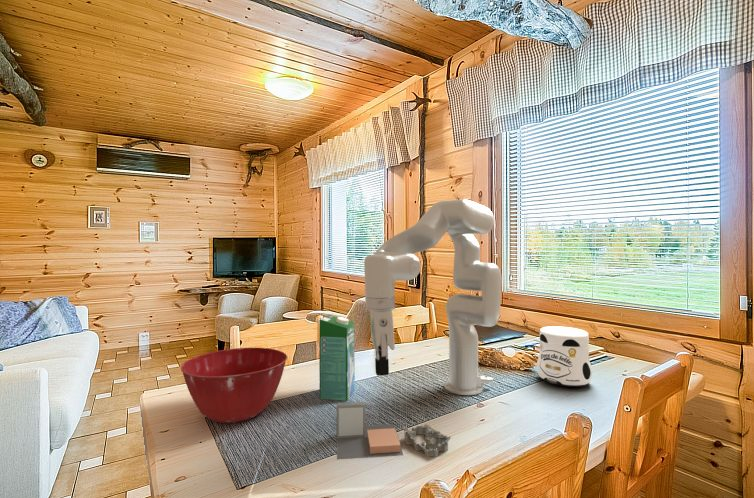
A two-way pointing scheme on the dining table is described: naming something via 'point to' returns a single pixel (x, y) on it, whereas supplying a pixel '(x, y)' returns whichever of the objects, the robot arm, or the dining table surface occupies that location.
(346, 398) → the milk carton
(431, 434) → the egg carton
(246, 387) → the mixing bowl
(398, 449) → the terracotta tile
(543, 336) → the milk container
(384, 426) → the rubber mat
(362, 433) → the grey flat block
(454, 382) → the robot arm
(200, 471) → the dining table surface
